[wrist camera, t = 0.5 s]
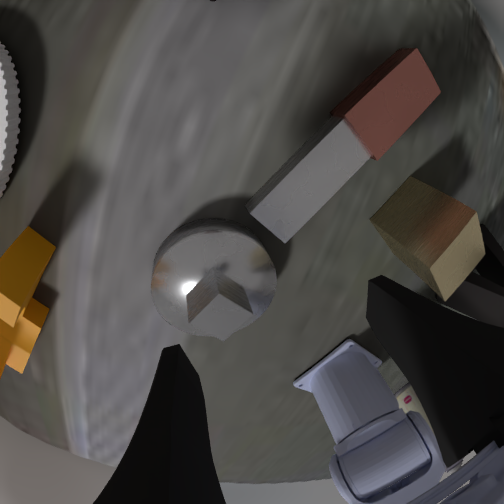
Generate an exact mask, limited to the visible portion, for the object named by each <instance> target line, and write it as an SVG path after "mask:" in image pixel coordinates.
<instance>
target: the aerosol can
mask: <svg viewBox="0 0 504 504" xmlns="http://www.w3.org/2000/svg"><path fill="white" fill-rule="evenodd" d="M394 396H395V397H396V399H397V401H398V403H399V409H400V408H402V409H403V411H404V412H405V414H406V413H407V412H409V411H410V410H411V411H415V412H419V413H420V414H421V415H422V417H423V418H424V419H425V421H426V422H427V424H428V425H429V427H430V428H431V430H432V432H433V429H432V427H431V424H430V422H429V420H428V417H427V415H426V413H425V411H424V409H423V407H422V405H421V403H420V401H419V399H418V397H417V395H416V393H415V391H414V390H413V388H412V386H411V384H410V383H408V384H406V385H405V386H404V387H402V388H401V389H400V390H399V391H398V392H397V393H396V394H395V395H394ZM433 433H434V432H433ZM434 435H435V434H434ZM463 458H464V457H463ZM463 458H462V459H461V460H459V461H458V462H456V463H455V464H453V465H452V466H450V467H449V468H447V467H446V469H445V471H444V472H446V471H447V472H452V473H454V472H455V471H457V470H458V469H459V468H460V467H462V466H461V465H462V461H463Z"/></svg>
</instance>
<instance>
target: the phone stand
mask: <svg viewBox="0 0 504 504" xmlns="http://www.w3.org/2000/svg"><path fill="white" fill-rule="evenodd" d="M480 228H481V233H482V238H483V243H484V248H485V255H484V256H483V258H482V259H481V260H480V261H479V263H478V264H477V265H476V266H475V268H474V269H476V270H477V271H478V272H479V274H480V275H481V276H480V275H478V274H476V273H474V272H472V271H471V273H470V274H469V275H468V276H467V277H466V279H465V280H464V281H463V282H462V283H461V285H460V286H459V287H458V288H457V289H456V290H455V291H454V292H453V294H452V295H451V296H450V297H449V298H448V299H447V300H446V301H444V300H443V299H442V298H441V297H440V296H439V295H438V294H437V293H436V295H437V301H438V302H440V303H442V304H444V305H446V306H449V307H451V308H453V309H455V310H457V311H459V312H462V313H464V314H466V315H468V316H470V317H472V318H474V319H477V320H479V321H481V322H484V323H487V324H491V325H494V326H498V327H502V328H504V251H503V249H502V248H501V246H500V245H499V244H498V242H497V241H496V240H495V238H494V237H493V235H492V234H491V233H490V232H489V230H488V229H487V228H486V226H485V225H483V224H481V225H480Z"/></svg>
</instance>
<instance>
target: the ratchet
mask: <svg viewBox="0 0 504 504" xmlns="http://www.w3.org/2000/svg"><path fill="white" fill-rule="evenodd" d="M440 93H441V91H440V89H439V87H438V85H437V83H436V81H435V79H434V77H433V75H432V73H431V72H430V70H429V68H428V66H427V64H426V63H425V61H424V59H423V57H422V56H421V54H420V52H419V51H418V49H417V48H406V49H399V50H398V51H396V52H395V53H394V54H393V55H392V56H391V57H390V58H388V59H387V60H386V61H385V62H384V63H383V64H382V65H381V66H379V67H378V68H377V69H376V70H375V71H374V72H373V73H372V74H371V75H369V76H368V77H367V78H366V79H365V80H364V81H363V82H362V83H361V84H360V85H359V86H357V87H356V88H355V89H354V90H353V91H352V92H351V93H350V94H349V95H348V96H347V97H346V98H345V99H343V100H342V101H341V102H340V103H339V104H338V105H337V106H336V107H335V108H334V109H333V110H332V111H331V112H330V114H331V115H332V117H331V118H330V119H329V120H328V121H327V122H326V123H325V124H324V125H323V126H322V127H321V128H320V129H319V130H318V131H317V132H316V133H315V134H314V135H313V136H311V137H310V138H309V139H308V140H307V141H306V142H305V143H304V144H303V145H302V146H301V147H300V148H299V149H298V150H297V151H296V152H295V153H294V154H293V155H292V156H291V157H290V158H289V159H288V160H287V161H286V162H285V163H284V164H283V165H282V166H281V168H280V169H279V170H278V171H277V172H276V173H275V174H274V175H273V176H272V177H271V178H270V179H269V180H268V181H267V182H266V183H265V184H264V185H263V186H262V187H261V188H260V189H259V190H258V191H257V192H256V193H255V194H254V195H253V196H252V197H251V198H250V199H249V201H248V202H247V203H246V204H245V207H246V208H247V210H248V212H249V213H250V214H251V215H252V216H253V217H254V218H256V219H257V220H258V221H259V222H260V223H261V224H263V225H264V226H265V227H266V228H267V229H268V230H270V231H271V232H272V233H273V234H274V235H276V236H277V237H278V238H279V239H280V240H281V241H282V242H284V243H286V242H287V241H288V240H289V239H290V238H291V237H292V236H293V235H294V234H295V233H296V232H297V231H298V230H299V229H300V228H301V227H302V226H303V225H304V224H305V223H306V222H307V221H308V220H309V219H310V218H311V217H312V216H313V215H314V214H315V213H316V212H317V211H318V210H319V209H320V208H321V207H322V206H323V205H324V204H325V203H326V202H327V201H328V200H329V199H330V198H331V197H332V196H333V195H334V194H335V193H336V192H337V191H338V190H339V189H340V188H341V187H342V186H343V185H344V184H345V183H346V182H347V181H348V180H349V179H350V178H351V177H352V176H353V175H354V174H355V173H356V171H357V170H358V169H359V168H360V167H361V166H362V165H363V164H364V163H365V162H366V161H367V160H368V159H369V158H372V159H374V160H377V161H378V160H379V159H380V157H381V156H382V155H383V154H384V153H385V152H386V151H387V150H388V149H389V148H390V147H391V146H392V145H393V144H394V143H395V142H396V141H397V140H398V138H399V137H400V136H401V135H402V134H403V133H404V132H405V131H406V130H407V129H408V128H409V127H410V126H411V125H412V123H413V122H414V121H415V120H416V119H417V118H418V117H419V116H420V115H421V114H422V113H423V112H424V110H425V109H426V108H427V107H428V106H429V105H430V104H431V103H432V102H433V101H434V100H435V98H436V97H437V96H438V95H439V94H440ZM276 284H277V276H276V270H275V267H274V264H273V262H272V260H271V259H270V257H269V255H268V253H267V251H266V250H265V248H264V246H263V244H262V243H261V241H260V239H259V238H258V237H257V236H256V235H255V234H254V233H253V232H252V231H251V230H250V229H248V228H247V227H245V226H243V225H241V224H239V223H237V222H234V221H231V220H226V219H219V218H209V219H201V220H197V221H193V222H190V223H188V224H186V225H183V226H181V227H180V228H178V229H177V230H175V231H174V232H173V233H171V234H170V235H169V236H168V237H167V238H166V239H165V240H164V241H163V243H162V244H161V246H160V247H159V249H158V251H157V253H156V256H155V259H154V263H153V271H152V282H151V294H152V299H153V302H154V305H155V307H156V309H157V311H158V312H159V314H160V315H161V316H162V318H163V319H164V320H165V321H166V322H168V323H169V324H170V325H172V326H173V327H175V328H177V329H179V330H181V331H183V332H186V333H189V334H193V335H199V336H214V337H216V338H218V339H220V340H222V341H225V340H226V339H227V338H228V337H229V336H230V335H231V334H233V333H234V332H235V331H238V330H240V329H242V328H244V327H246V326H248V325H249V324H251V323H252V322H254V321H255V320H256V319H257V318H259V317H260V316H261V315H262V314H263V313H264V311H265V310H266V309H267V308H268V306H269V305H270V303H271V301H272V299H273V297H274V294H275V290H276Z"/></svg>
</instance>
